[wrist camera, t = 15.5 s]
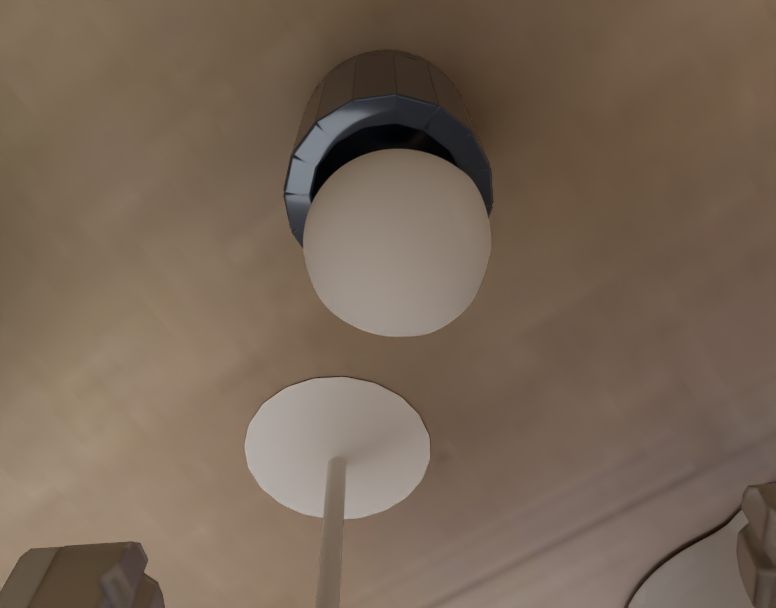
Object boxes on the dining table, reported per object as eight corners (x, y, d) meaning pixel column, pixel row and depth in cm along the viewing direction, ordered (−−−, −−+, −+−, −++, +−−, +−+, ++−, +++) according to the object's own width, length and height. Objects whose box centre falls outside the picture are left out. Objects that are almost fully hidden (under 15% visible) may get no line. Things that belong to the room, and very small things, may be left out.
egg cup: (462, 38, 24) (486, 81, 19) (474, 202, 27) (498, 279, 22) (288, 62, 24) (264, 111, 19) (318, 222, 27) (305, 302, 22)
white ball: (379, 276, 24) (382, 399, 20) (272, 177, 21) (252, 299, 17) (512, 195, 21) (541, 316, 18) (411, 74, 19) (422, 188, 15)
